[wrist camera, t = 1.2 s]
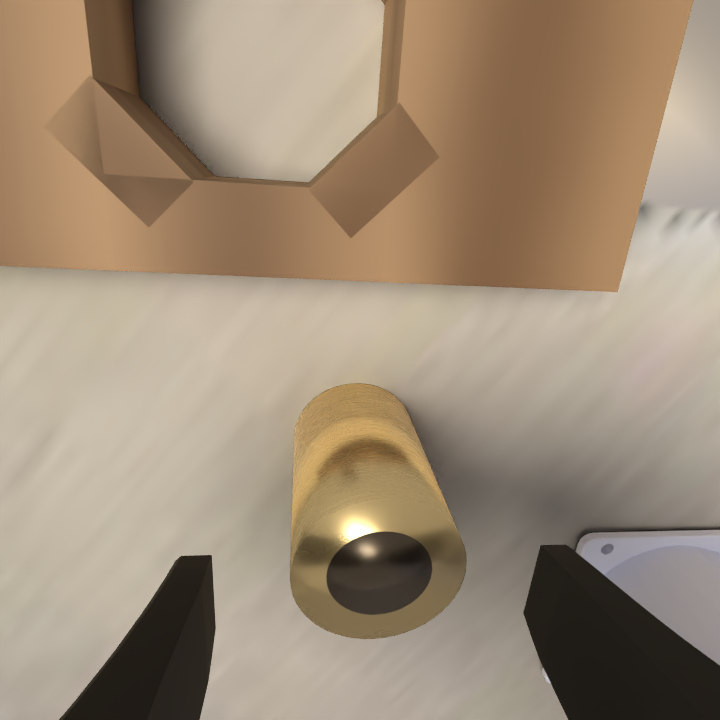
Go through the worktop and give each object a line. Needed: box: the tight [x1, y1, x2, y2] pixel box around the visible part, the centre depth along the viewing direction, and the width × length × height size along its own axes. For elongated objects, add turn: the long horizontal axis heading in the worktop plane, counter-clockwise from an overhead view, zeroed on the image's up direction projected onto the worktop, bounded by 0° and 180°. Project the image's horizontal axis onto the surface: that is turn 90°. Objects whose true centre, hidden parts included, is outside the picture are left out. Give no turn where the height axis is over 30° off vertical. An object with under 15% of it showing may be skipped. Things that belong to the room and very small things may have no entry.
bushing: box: [290, 383, 466, 639], centre depth 14 cm, size 4×4×6 cm
